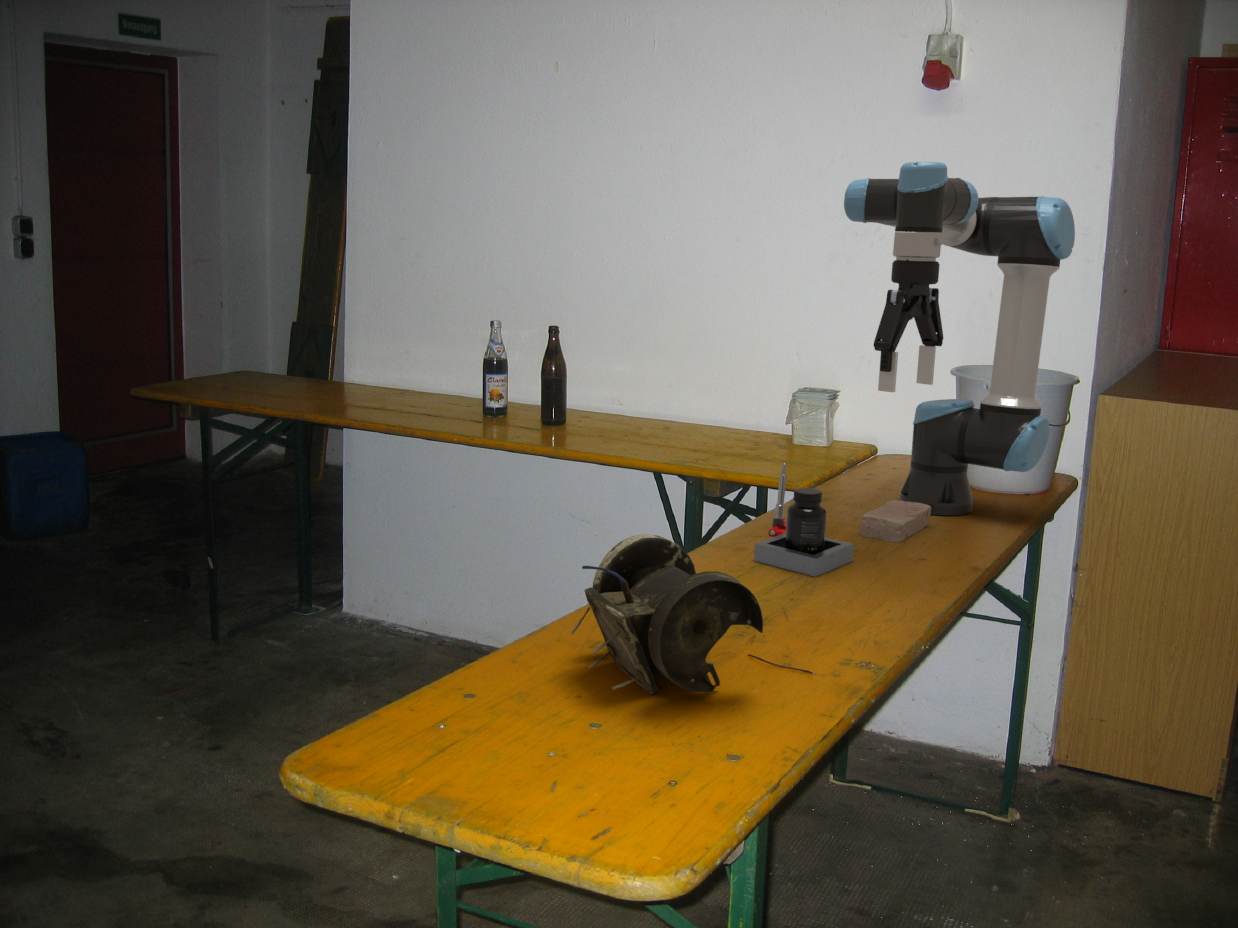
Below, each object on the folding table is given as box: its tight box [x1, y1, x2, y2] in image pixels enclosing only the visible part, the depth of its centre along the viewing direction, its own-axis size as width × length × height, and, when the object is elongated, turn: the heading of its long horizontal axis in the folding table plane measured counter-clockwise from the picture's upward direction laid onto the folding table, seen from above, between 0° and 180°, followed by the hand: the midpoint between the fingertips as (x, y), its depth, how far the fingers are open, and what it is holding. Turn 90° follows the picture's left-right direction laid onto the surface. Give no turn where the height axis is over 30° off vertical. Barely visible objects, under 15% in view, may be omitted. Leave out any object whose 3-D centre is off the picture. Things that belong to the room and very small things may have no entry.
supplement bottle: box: [785, 487, 827, 555], centre depth 191 cm, size 7×7×12 cm
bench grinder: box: [570, 533, 764, 695], centre depth 140 cm, size 20×22×20 cm
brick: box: [859, 499, 932, 543], centre depth 213 cm, size 16×8×5 cm, turn 144°
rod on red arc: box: [768, 462, 788, 537], centre depth 207 cm, size 9×14×10 cm
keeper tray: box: [753, 533, 855, 577], centre depth 192 cm, size 12×12×3 cm
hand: (906, 387), depth 183 cm, fingers open, 13 cm apart
